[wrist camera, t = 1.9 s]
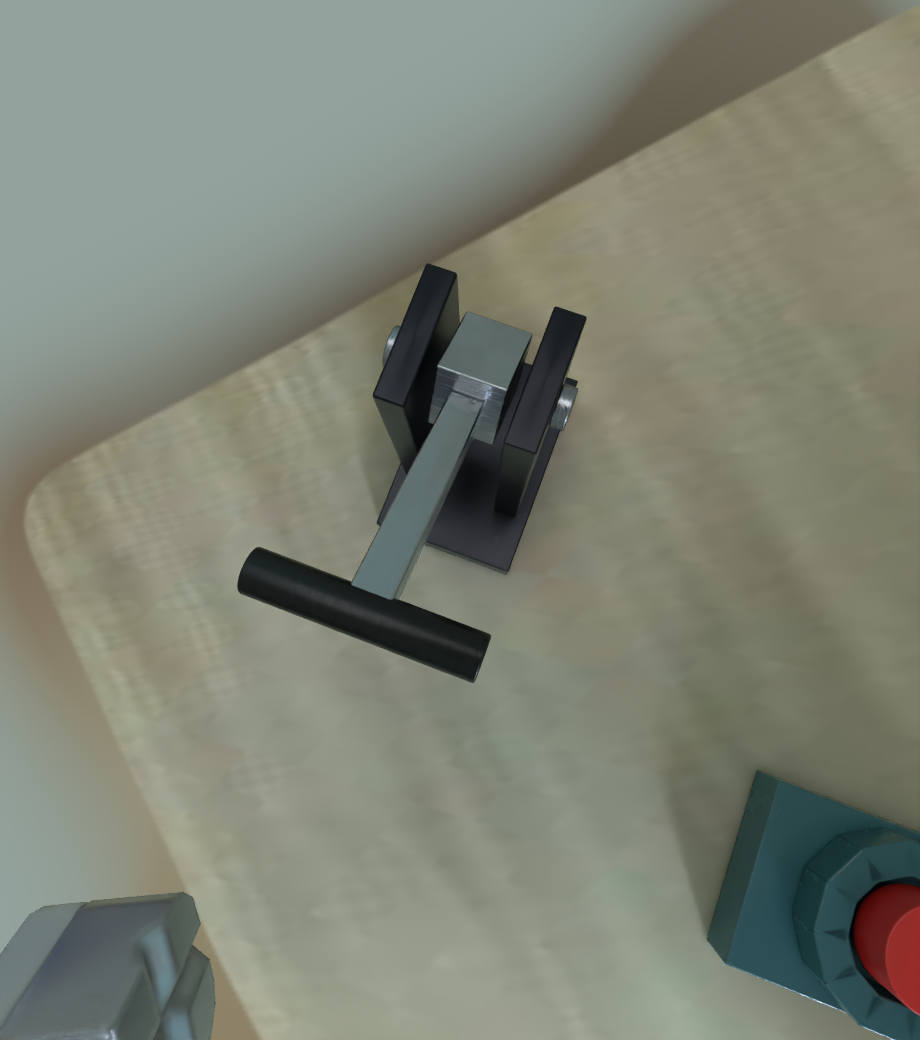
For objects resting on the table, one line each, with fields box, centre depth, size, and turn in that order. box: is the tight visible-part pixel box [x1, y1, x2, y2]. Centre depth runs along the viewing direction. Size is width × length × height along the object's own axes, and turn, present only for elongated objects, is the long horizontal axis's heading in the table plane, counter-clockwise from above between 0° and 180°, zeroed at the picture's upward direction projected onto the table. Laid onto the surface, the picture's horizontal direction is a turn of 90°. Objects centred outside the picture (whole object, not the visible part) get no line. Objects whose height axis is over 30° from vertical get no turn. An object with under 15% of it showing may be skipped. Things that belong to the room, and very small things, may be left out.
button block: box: [707, 771, 920, 1040], centre depth 27 cm, size 10×7×4 cm
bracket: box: [373, 264, 586, 574], centre depth 26 cm, size 9×6×12 cm, turn 159°
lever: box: [237, 312, 532, 683], centre depth 20 cm, size 11×6×2 cm, turn 161°
